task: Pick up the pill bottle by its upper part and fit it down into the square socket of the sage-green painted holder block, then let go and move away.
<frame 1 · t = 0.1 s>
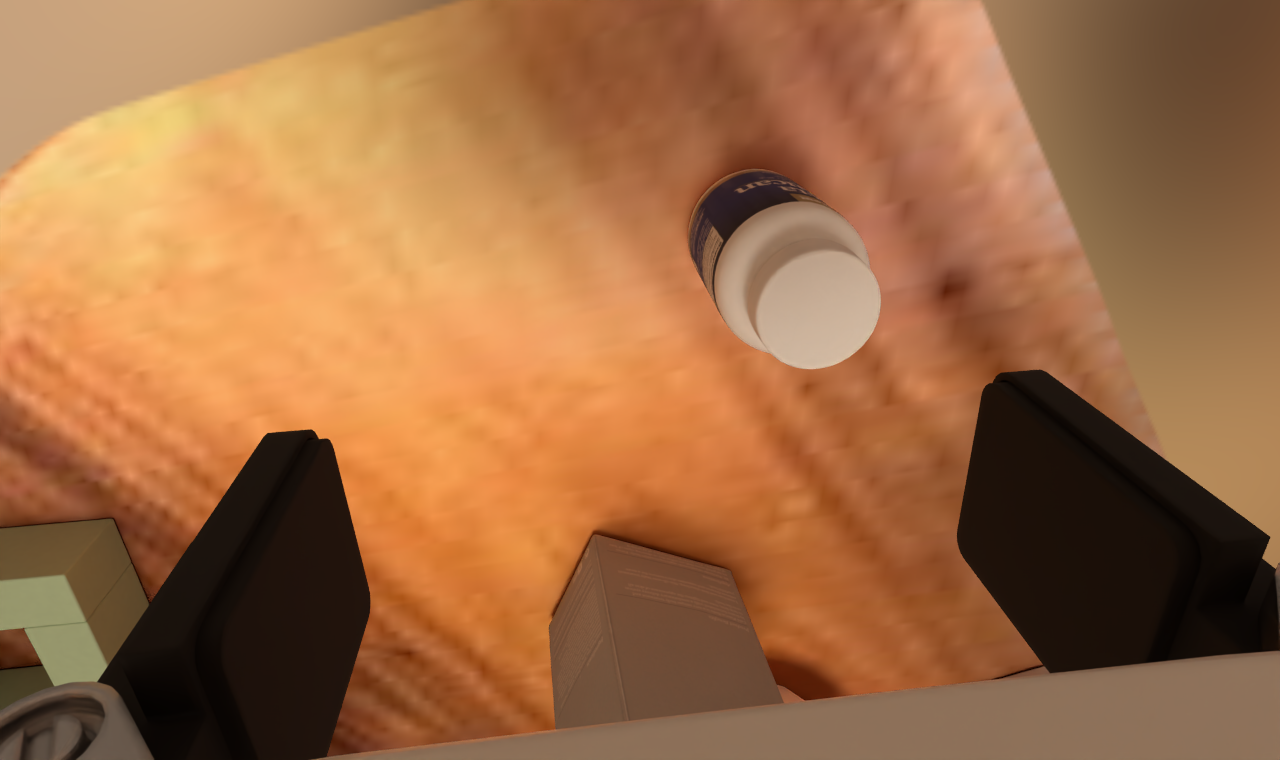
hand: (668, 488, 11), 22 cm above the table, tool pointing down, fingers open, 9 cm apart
cosmetic box: (646, 587, 40), on the table
pill bottle: (747, 229, 32), on the table
holder: (34, 620, 37), on the table
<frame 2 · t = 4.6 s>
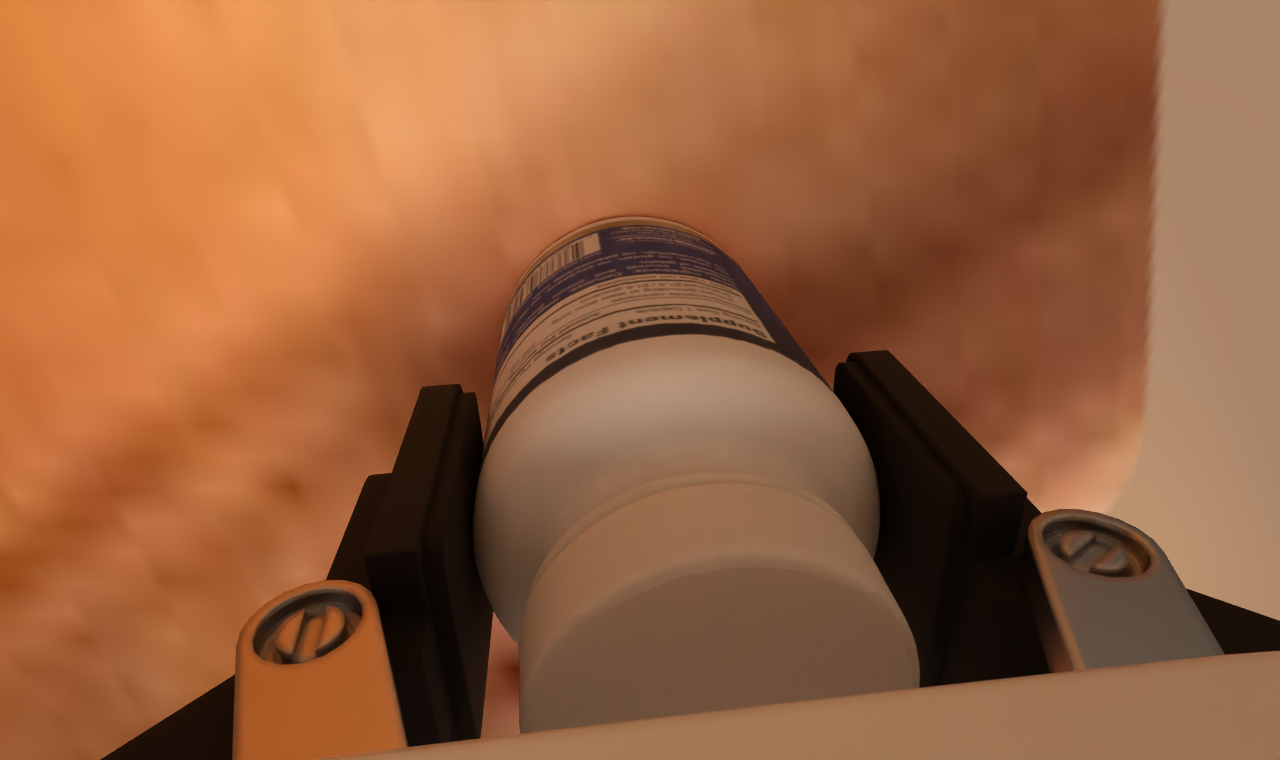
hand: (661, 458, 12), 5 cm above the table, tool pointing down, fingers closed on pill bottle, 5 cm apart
pill bottle: (631, 332, 16), on the table, touching gripper
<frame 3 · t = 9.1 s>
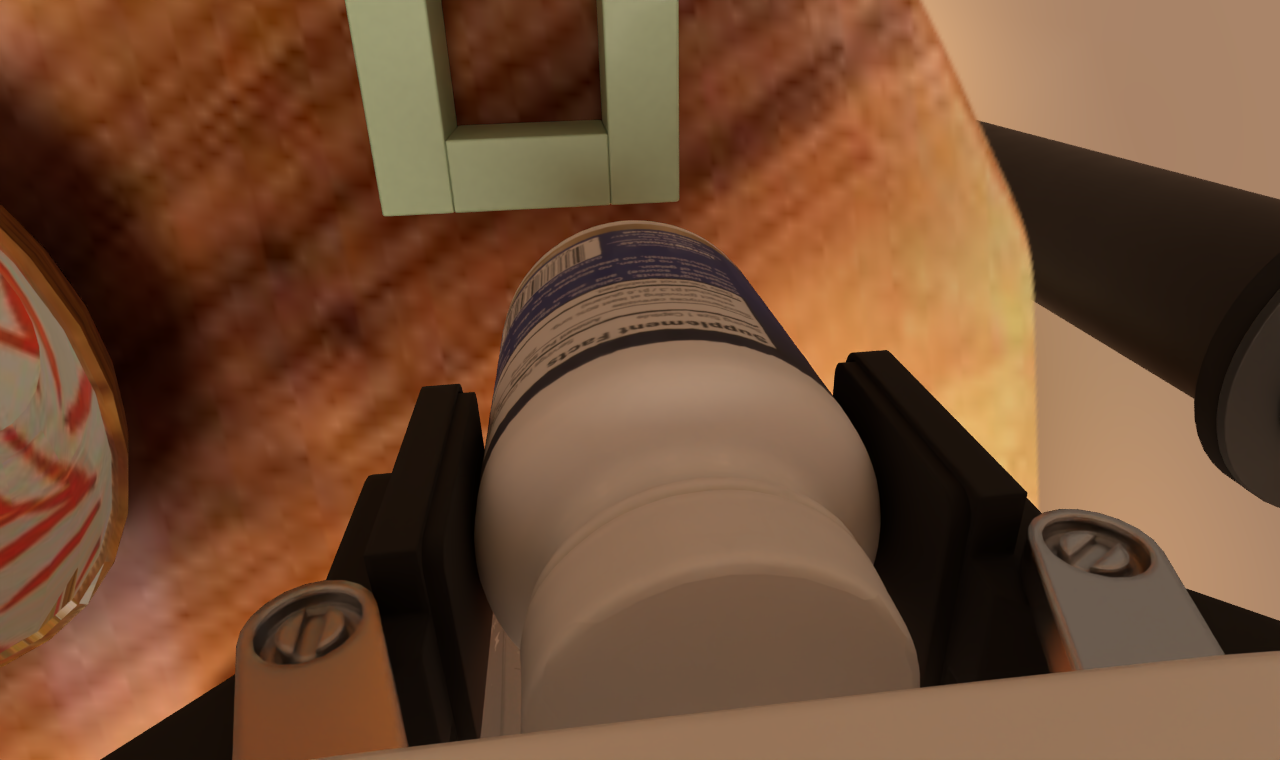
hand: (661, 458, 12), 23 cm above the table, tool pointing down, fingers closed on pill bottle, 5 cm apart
cosmetic box: (538, 628, 43), on the table
pill bottle: (632, 336, 16), point 17 cm above the table, touching gripper
holder: (523, 43, 29), on the table
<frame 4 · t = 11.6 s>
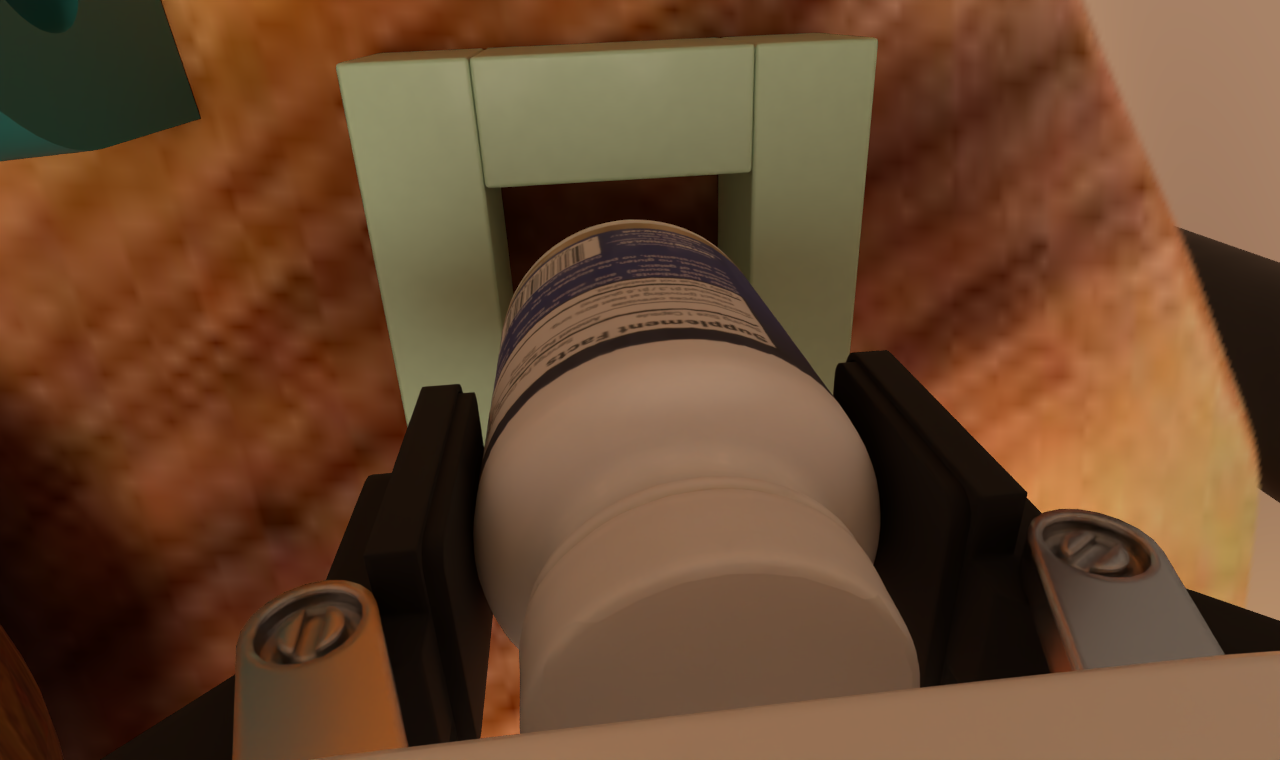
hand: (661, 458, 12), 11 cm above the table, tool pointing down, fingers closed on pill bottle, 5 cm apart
pill bottle: (631, 335, 16), point 6 cm above the table, touching gripper
holder: (614, 257, 21), on the table
when the fingers open (5 cm above the table, at t = 13.5 s): pill bottle stays where it is, resting in holder.
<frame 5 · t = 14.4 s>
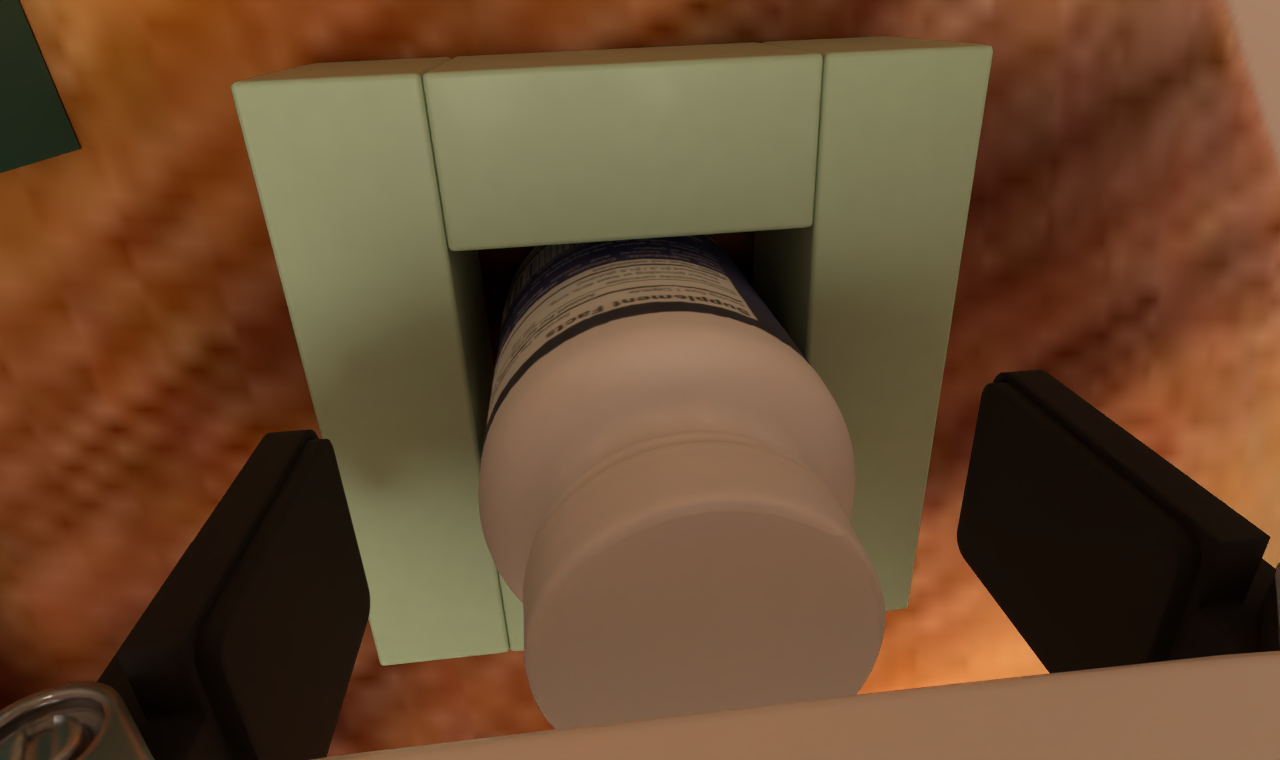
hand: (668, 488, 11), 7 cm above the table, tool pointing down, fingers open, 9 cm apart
pill bottle: (625, 319, 17), resting in holder
holder: (622, 319, 17), on the table
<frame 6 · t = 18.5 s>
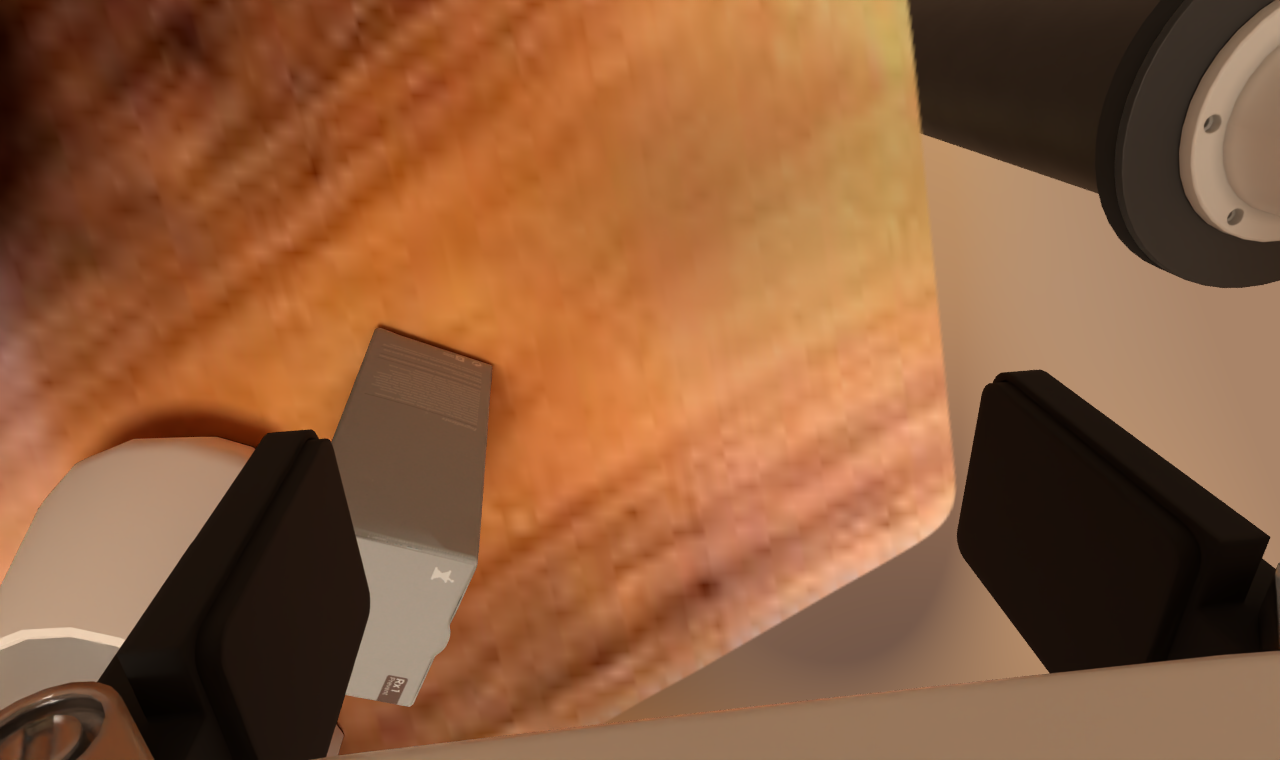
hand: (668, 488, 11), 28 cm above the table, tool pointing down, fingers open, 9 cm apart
cosmetic box: (421, 409, 41), on the table
cup: (219, 505, 43), on the table
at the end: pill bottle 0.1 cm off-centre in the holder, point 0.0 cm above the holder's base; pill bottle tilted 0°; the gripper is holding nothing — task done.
